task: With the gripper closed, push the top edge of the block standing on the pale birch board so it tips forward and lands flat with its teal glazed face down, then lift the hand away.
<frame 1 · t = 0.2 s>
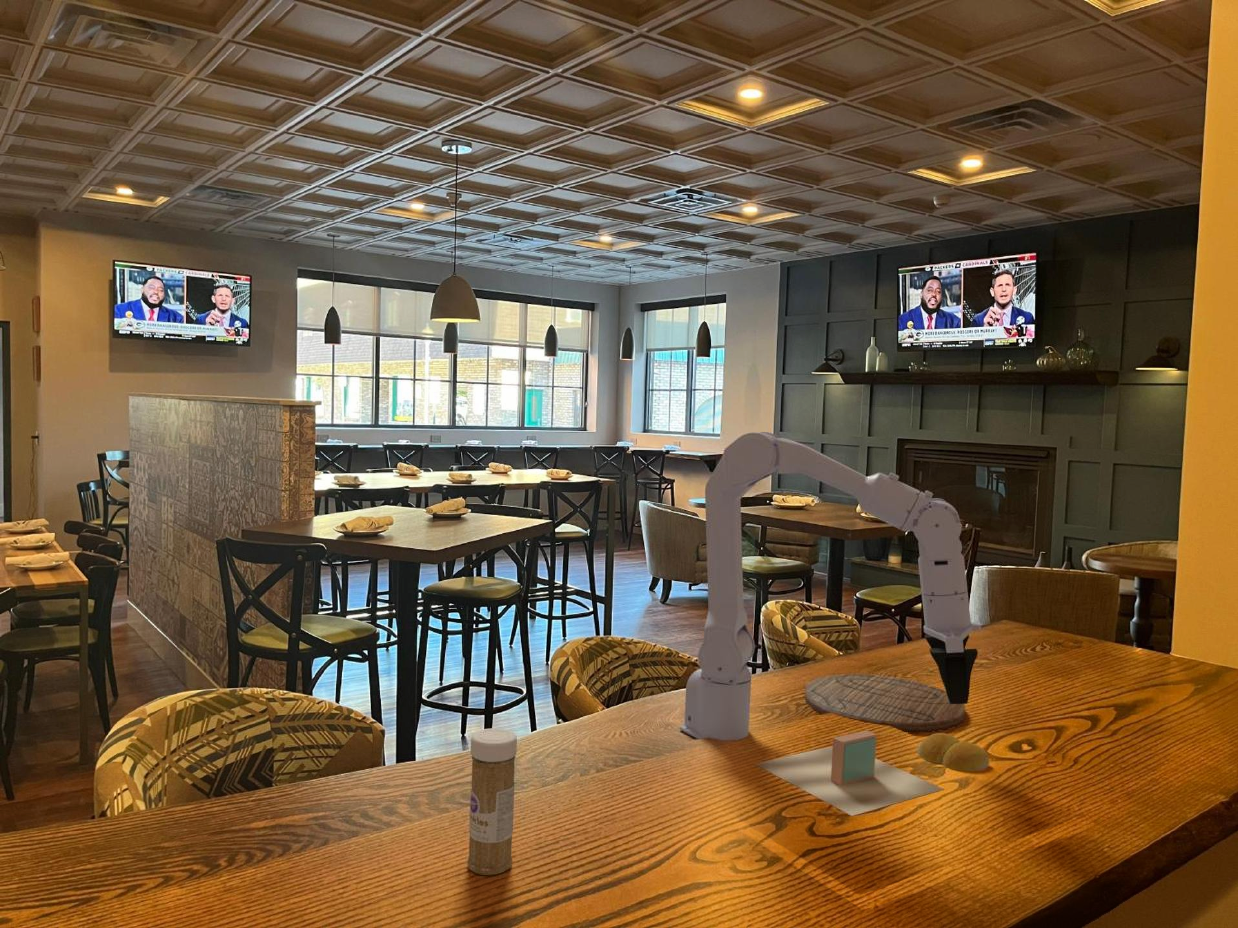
hand: (955, 694, 118), 11 cm above the table, tool pointing down, fingers open, 7 cm apart
bread roll: (951, 767, 122), on the table
board: (846, 783, 114), on the table
trivet: (882, 708, 146), on the table
block: (852, 778, 113), point 1 cm above the table, touching board
sprinkles bottle: (490, 867, 90), on the table
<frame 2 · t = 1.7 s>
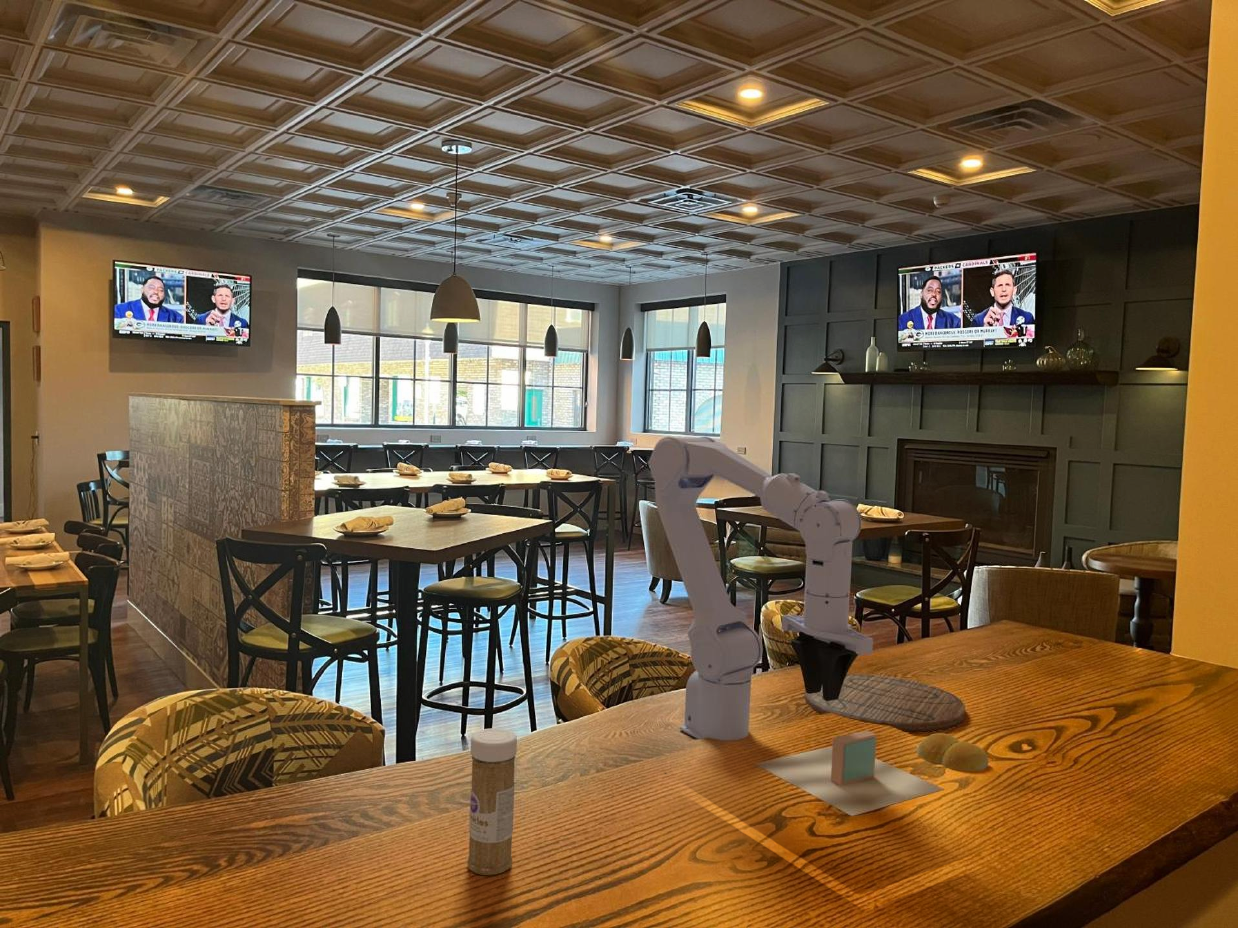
hand: (821, 695, 118), 10 cm above the table, tool pointing down, fingers open, 3 cm apart
nothing on the table moved.
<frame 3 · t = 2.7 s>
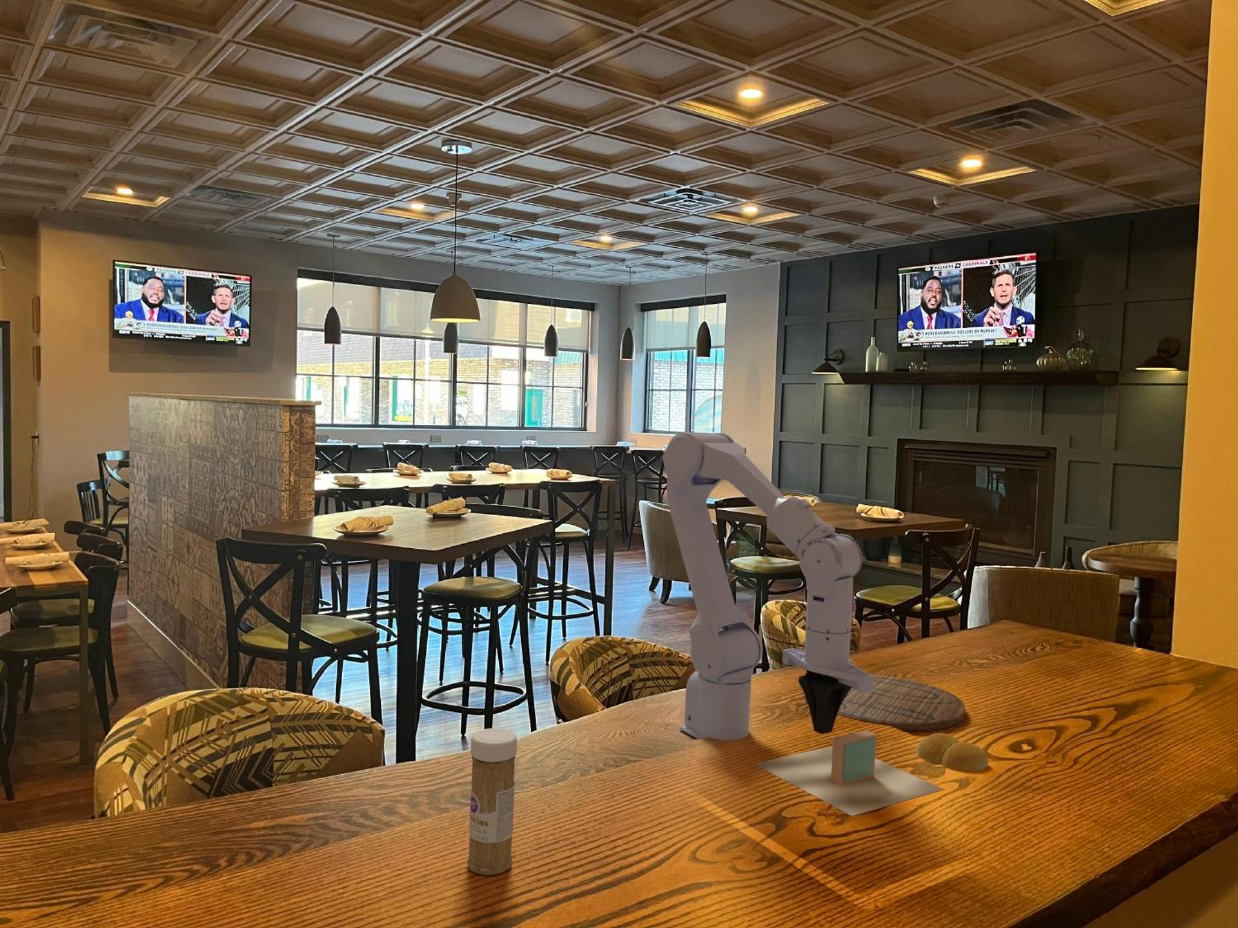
hand: (823, 731, 117), 5 cm above the table, tool pointing down, fingers closed
nothing on the table moved.
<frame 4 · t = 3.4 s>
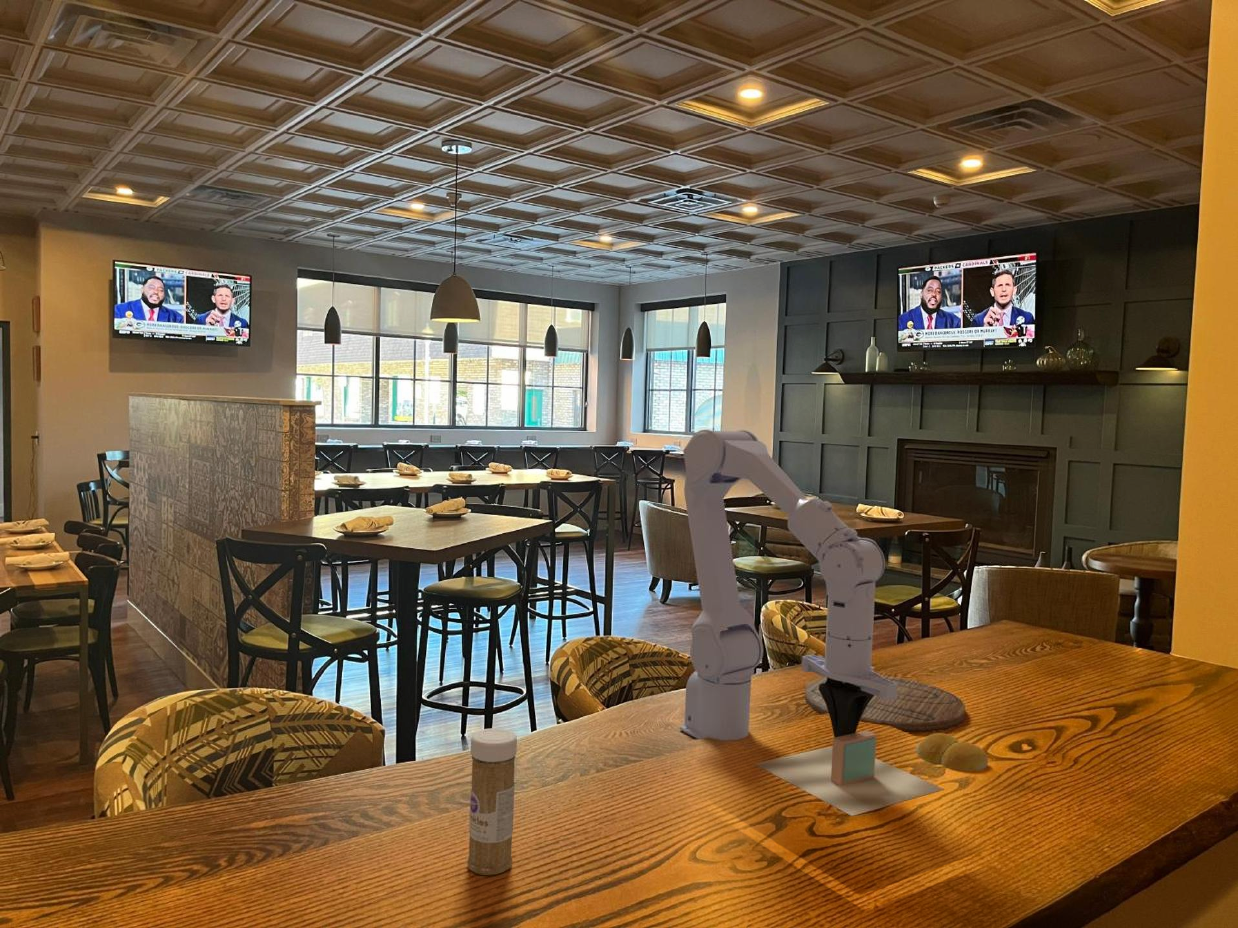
hand: (844, 740, 114), 5 cm above the table, tool pointing down, fingers closed
block: (852, 778, 113), point 1 cm above the table, touching board, gripper
everything else where it was.
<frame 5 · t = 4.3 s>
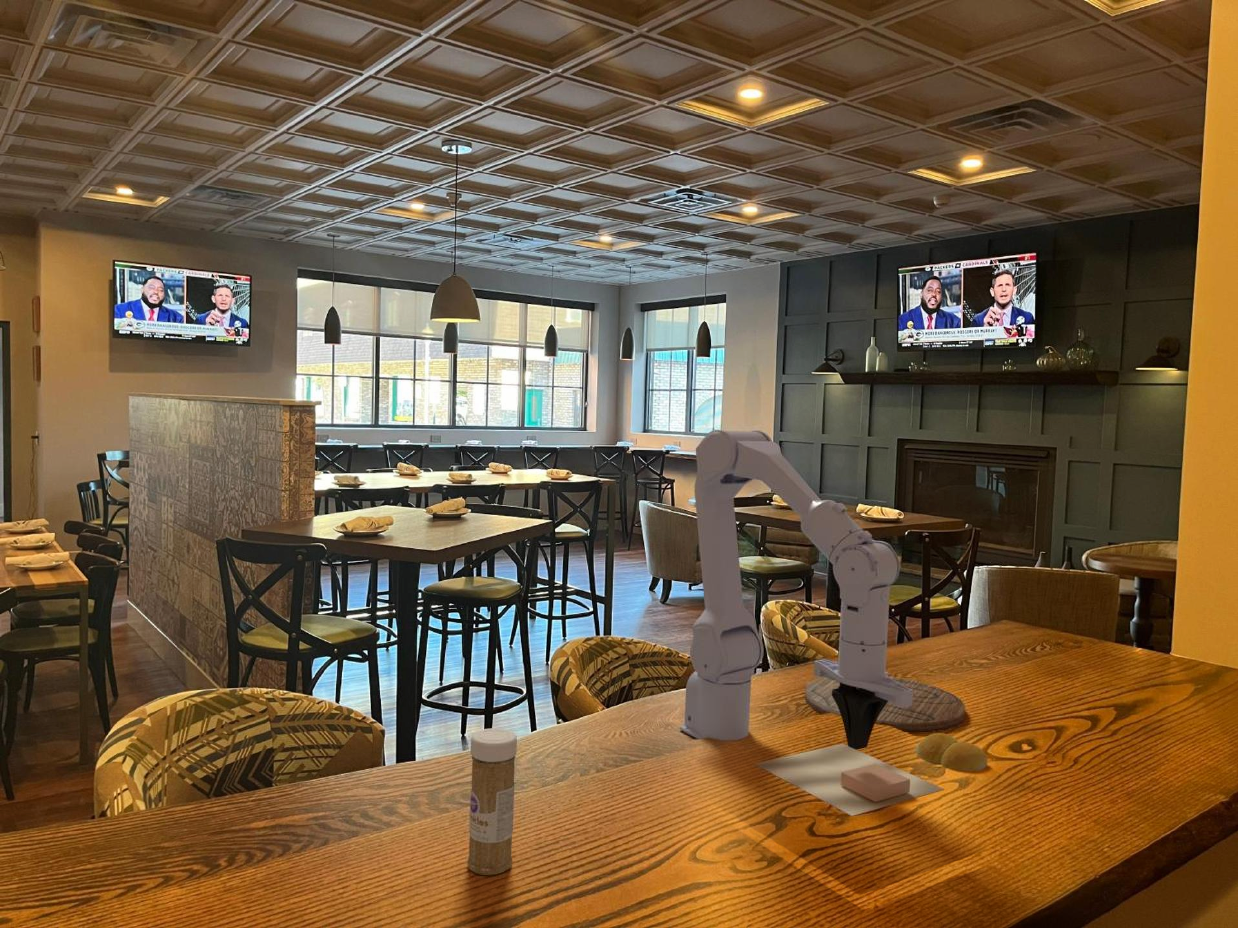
hand: (857, 746, 112), 5 cm above the table, tool pointing down, fingers closed
block: (858, 773, 112), point 2 cm above the table, tilted 90°, touching board
everything else where it was.
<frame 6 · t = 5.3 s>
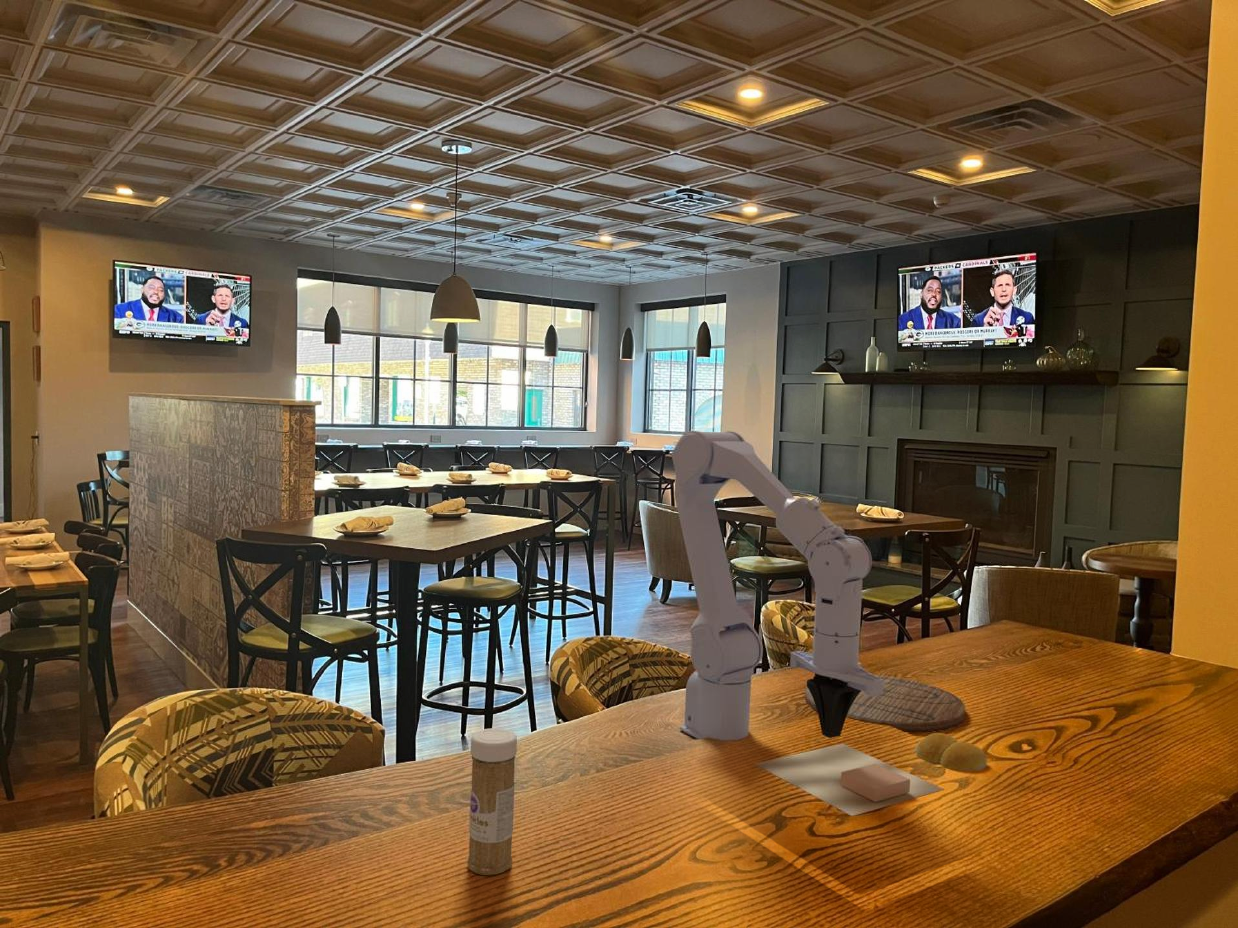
hand: (831, 735, 116), 5 cm above the table, tool pointing down, fingers closed
nothing on the table moved.
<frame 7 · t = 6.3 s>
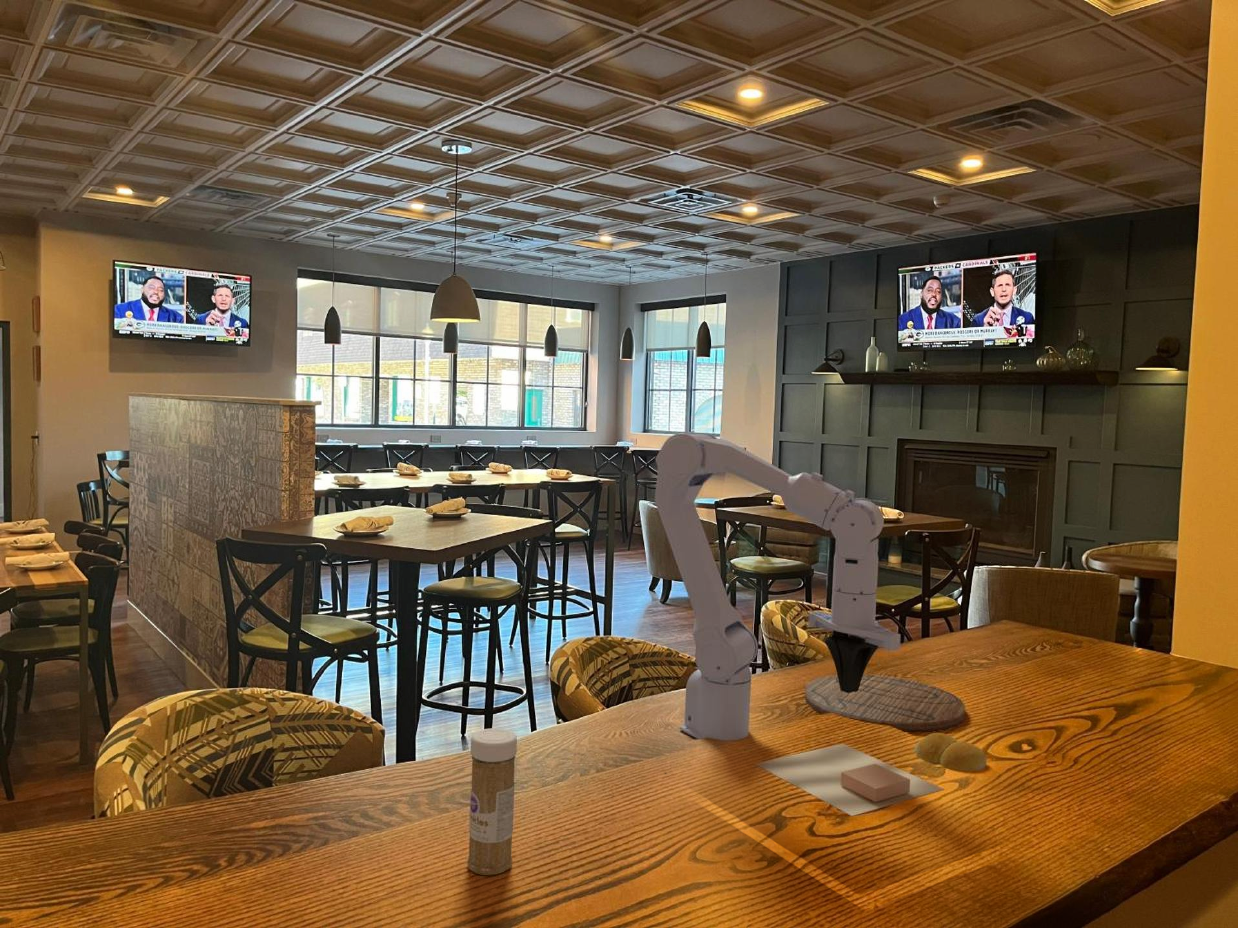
hand: (849, 690, 120), 10 cm above the table, tool pointing down, fingers closed
nothing on the table moved.
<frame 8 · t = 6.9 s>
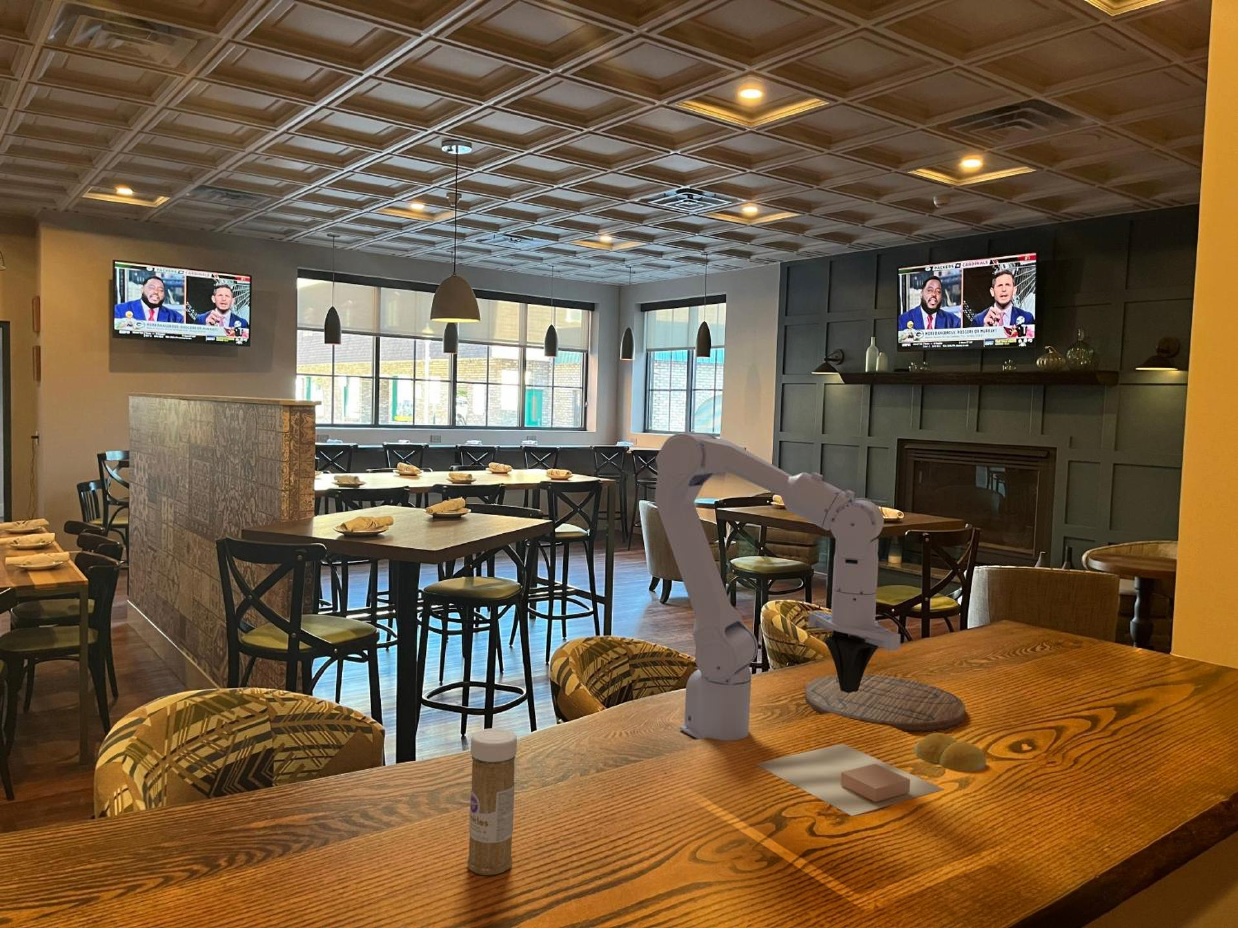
hand: (849, 690, 120), 10 cm above the table, tool pointing down, fingers closed
nothing on the table moved.
at the end: block tilted 90°; block inside the target area on the board (1.4 cm from its centre), point 1.9 cm above the board's base; block touching board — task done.
